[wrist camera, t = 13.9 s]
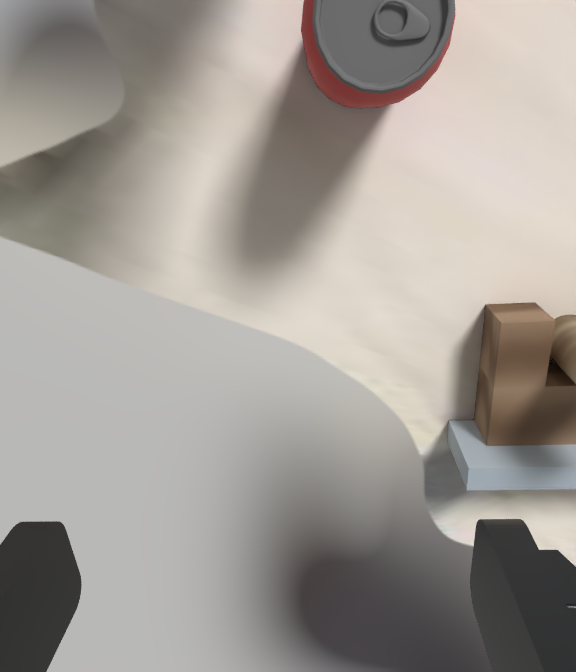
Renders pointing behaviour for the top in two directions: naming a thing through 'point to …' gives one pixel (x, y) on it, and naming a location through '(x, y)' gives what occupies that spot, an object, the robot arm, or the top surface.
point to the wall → (509, 462)
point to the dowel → (565, 344)
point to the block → (522, 380)
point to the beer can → (375, 47)
